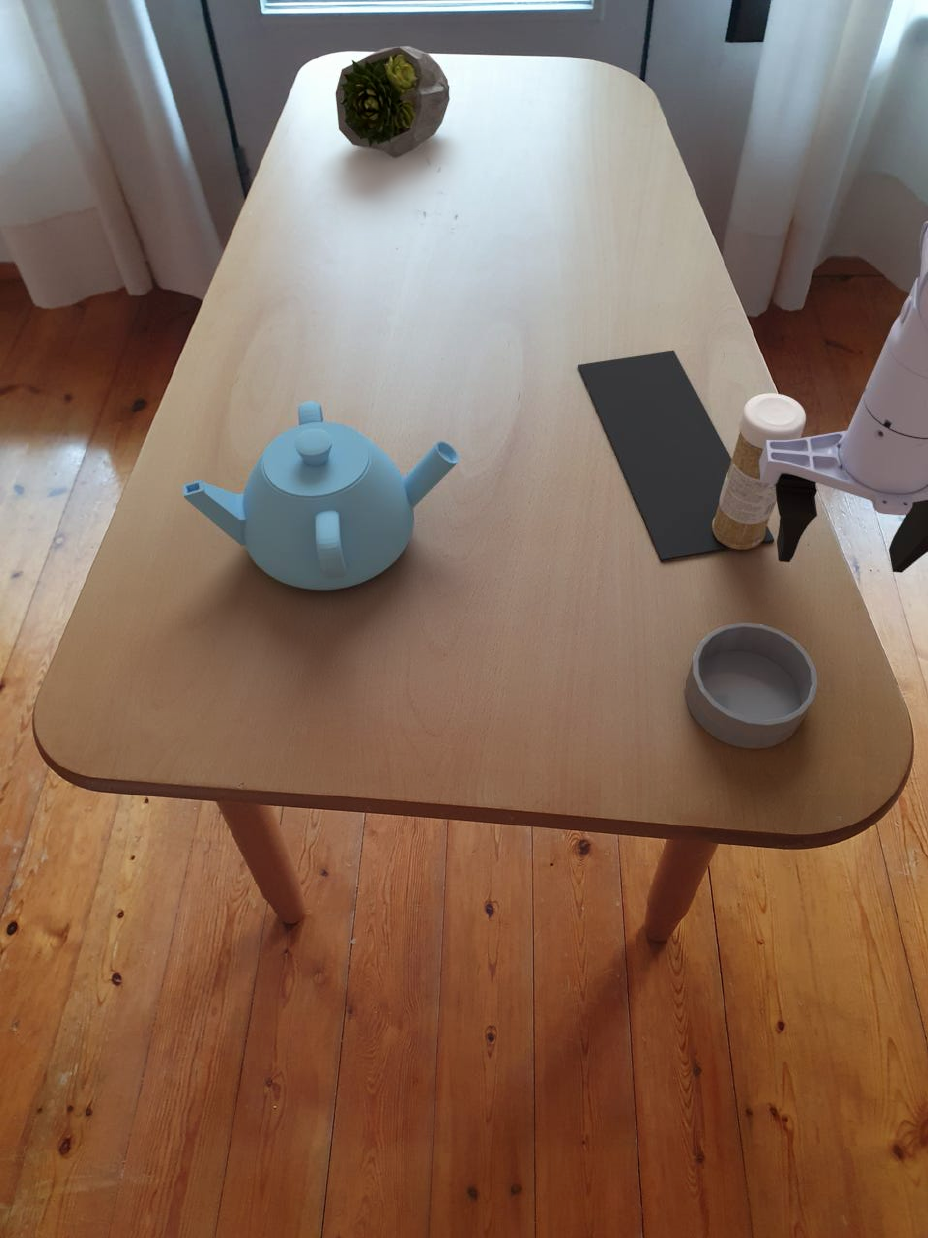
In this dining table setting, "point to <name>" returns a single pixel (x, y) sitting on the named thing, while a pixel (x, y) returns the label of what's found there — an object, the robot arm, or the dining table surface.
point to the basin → (750, 685)
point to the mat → (663, 449)
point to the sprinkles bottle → (754, 470)
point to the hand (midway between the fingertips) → (839, 556)
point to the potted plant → (392, 100)
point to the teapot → (323, 504)
